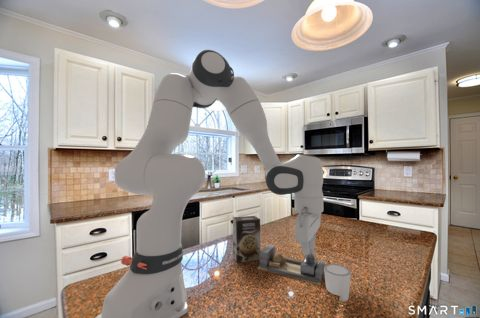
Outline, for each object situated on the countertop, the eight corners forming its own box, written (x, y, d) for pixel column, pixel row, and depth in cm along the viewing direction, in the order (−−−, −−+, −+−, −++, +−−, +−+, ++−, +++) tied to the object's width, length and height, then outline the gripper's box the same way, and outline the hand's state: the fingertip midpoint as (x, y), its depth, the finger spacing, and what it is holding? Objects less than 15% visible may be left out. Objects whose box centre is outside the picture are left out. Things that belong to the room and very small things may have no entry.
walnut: (281, 269, 72) (281, 257, 72) (270, 266, 74) (270, 254, 74) (285, 264, 75) (285, 252, 76) (274, 261, 77) (274, 250, 78)
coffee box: (236, 267, 77) (236, 220, 77) (232, 259, 83) (232, 216, 83) (261, 263, 79) (260, 219, 80) (255, 256, 86) (254, 215, 86)
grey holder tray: (319, 290, 63) (319, 267, 63) (256, 273, 73) (256, 253, 73) (325, 273, 72) (325, 253, 72) (269, 260, 82) (269, 242, 82)
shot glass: (343, 287, 64) (343, 263, 64) (356, 302, 57) (356, 275, 57) (320, 288, 64) (319, 263, 64) (330, 303, 57) (330, 276, 57)
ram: (314, 279, 65) (313, 240, 66) (300, 276, 67) (300, 238, 68) (318, 269, 72) (317, 234, 72) (305, 266, 74) (305, 232, 74)
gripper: (312, 212, 59) (312, 264, 59) (324, 200, 77) (324, 240, 77) (289, 210, 63) (289, 259, 62) (305, 199, 80) (306, 237, 80)
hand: (309, 248), depth 70 cm, fingers open, 8 cm apart
